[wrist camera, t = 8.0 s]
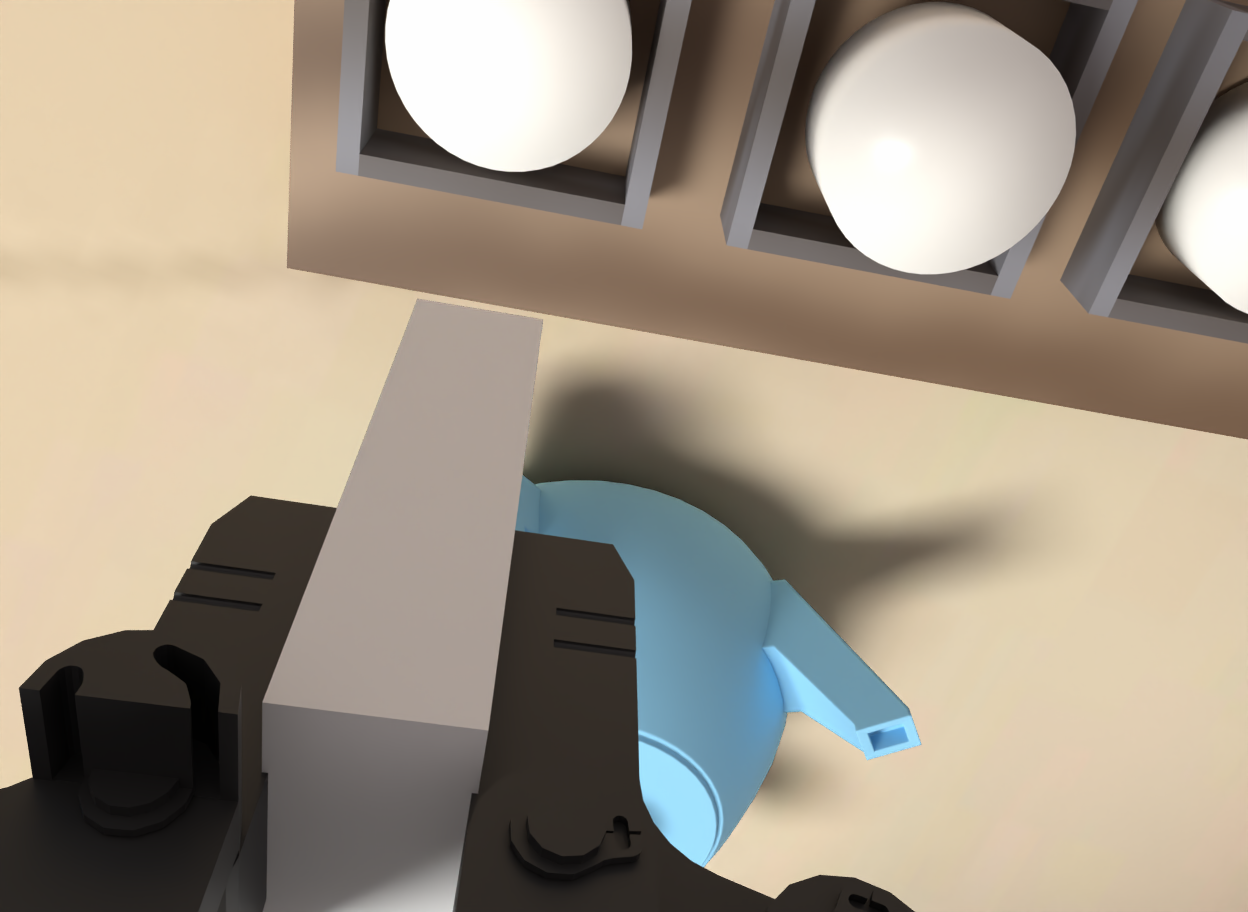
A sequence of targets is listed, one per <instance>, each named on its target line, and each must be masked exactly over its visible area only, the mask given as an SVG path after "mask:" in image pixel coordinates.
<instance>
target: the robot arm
mask: <svg viewBox="0 0 1248 912" xmlns="http://www.w3.org/2000/svg"><path fill="white" fill-rule="evenodd" d="M542 324H543V319H537V318H531V317H525V316H519V315H513V314H507V313H501V312H495V311H489V310H482V309H476V308H470V307H464V306H458V305H452V304H446V303H440V302H434V301H428V300H422V299H417V301H416V304H415V306H414V309H413V312H412V314H411V317H410V320H409V322H408V325H407V327H406V330H405V333H404V335H403V338H402V340H401V343H400V346H399V348H398V351H397V353H396V356H395V359H394V361H393V364H392V366H391V369H390V372H389V374H388V377H387V379H386V382H385V385H384V387H383V390H382V392H381V395H380V398H379V400H378V403H377V405H376V408H375V411H374V413H373V416H372V418H371V421H370V424H369V426H368V429H367V431H366V434H365V437H364V439H363V442H362V444H361V447H360V450H359V452H358V455H357V457H356V460H355V463H354V465H353V468H352V470H351V473H350V476H349V478H348V481H347V483H346V486H345V489H344V491H343V494H342V496H341V499H340V502H339V504H338V507H337V508H333V507H326V506H319V505H312V504H305V503H298V502H291V501H284V500H277V499H270V498H264V497H257V496H250V497H248V498H247V499H246V500H244V501H243V502H241V503H240V504H239V505H237V506H236V507H235V508H233V509H232V510H230V511H229V512H228V513H226V514H225V515H223V516H222V517H221V518H219V519H218V520H217V521H215V522H214V523H212V524H211V526H210V528H209V530H208V531H207V533H206V535H205V537H204V539H203V541H202V542H201V544H200V546H199V548H198V550H197V552H196V553H195V555H194V557H193V559H192V561H191V567H190V569H187V570H186V572H185V574H184V575H183V577H182V579H181V581H180V583H179V585H178V586H177V588H176V590H175V592H174V598H173V600H170V601H169V603H168V605H167V606H166V608H165V610H164V612H163V614H162V616H161V617H160V619H159V621H158V623H157V625H156V627H155V628H154V630H125V631H121V632H117V633H113V634H108V635H104V636H100V637H96V638H92V639H88V640H84V641H82V642H80V643H78V644H76V645H74V646H72V647H70V648H68V649H67V650H65V651H63V652H61V653H59V654H57V655H55V656H53V657H52V658H50V659H48V660H46V661H45V662H44V663H43V664H42V665H41V666H40V667H39V668H38V669H37V670H36V671H35V672H34V673H33V674H32V675H31V676H30V677H29V678H28V679H27V680H26V681H25V682H24V683H23V684H22V685H21V686H20V687H19V692H20V698H21V704H22V711H23V717H24V724H25V730H26V736H27V743H28V749H29V756H30V762H31V769H32V775H33V777H32V778H30V779H27V780H25V781H22V782H20V783H17V784H15V785H12V786H9V787H7V788H2V789H0V912H914V911H913V910H912V909H911V908H909V907H908V906H907V905H905V904H904V903H903V902H902V901H900V900H899V899H898V898H897V897H895V896H894V895H893V894H892V893H890V892H888V891H885V890H883V889H881V888H878V887H876V886H873V885H871V884H869V883H866V882H864V881H861V880H859V879H857V878H852V877H839V876H827V875H818V876H815V877H812V878H809V879H806V880H803V881H799V882H796V883H793V884H790V885H789V886H788V887H787V888H786V889H785V890H784V891H783V892H782V893H781V894H780V895H779V896H778V897H777V898H776V899H773V898H771V897H768V896H766V895H764V894H761V893H759V892H756V891H754V890H752V889H749V888H747V887H745V886H742V885H740V884H738V883H735V882H733V881H730V880H728V879H726V878H723V877H721V876H719V875H717V874H715V873H713V872H711V871H709V870H707V869H705V868H704V867H702V866H700V865H698V864H696V863H694V862H693V861H691V860H690V859H689V858H688V857H686V856H685V855H684V854H683V853H681V852H680V851H679V850H678V849H677V848H675V847H674V846H673V845H672V844H671V843H670V842H669V841H668V840H667V839H666V837H665V836H664V835H663V834H662V832H661V831H660V830H659V828H658V827H657V826H656V825H655V823H654V822H653V820H652V818H651V816H650V814H649V811H648V809H647V807H646V805H645V803H644V801H643V796H642V790H641V784H640V777H639V738H638V699H637V660H636V658H635V655H636V626H635V582H634V579H633V577H632V575H631V574H630V572H629V570H628V569H627V567H626V565H625V563H624V562H623V560H622V558H621V557H620V555H619V553H618V552H617V550H616V548H615V547H614V545H613V544H607V543H600V542H593V541H586V540H579V539H572V538H566V537H559V536H552V535H545V534H538V533H531V532H524V531H517V530H515V527H516V519H517V512H518V504H519V497H520V489H521V482H522V474H523V467H524V459H525V452H526V444H527V437H528V429H529V422H530V414H531V407H532V399H533V392H534V384H535V377H536V369H537V362H538V354H539V347H540V339H541V332H542Z"/></svg>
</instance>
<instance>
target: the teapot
mask: <svg viewBox="0 0 1248 912" xmlns="http://www.w3.org/2000/svg"><path fill="white" fill-rule="evenodd" d="M515 530H517V531H524V532H531V533H538V534H545V535H552V536H559V537H566V538H572V539H579V540H586V541H593V542H600V543H607V544H613V545H614V547H615V548H616V550H617V552H618V553H619V555H620V557H621V558H622V560H623V562H624V563H625V565H626V567H627V569H628V570H629V572H630V574H631V575H632V577H633V579H634V582H635V626H636V655H635V658H636V660H637V699H638V738H639V777H640V784H641V790H642V796H643V801H644V803H645V805H646V807H647V809H648V811H649V814H650V816H651V818H652V820H653V822H654V823H655V825H656V826H657V827H658V828H659V830H660V831H661V832H662V834H663V835H664V836H665V837H666V839H667V840H668V841H669V842H670V843H671V844H672V845H673V846H674V847H675V848H677V849H678V850H679V851H680V852H681V853H683V854H684V855H685V856H686V857H688V858H689V859H690V860H691V861H693V862H694V863H696V864H698V865H700V866H702V867H704V866H705V865H706V864H707V863H708V862H709V861H710V860H711V858H712V857H713V856H714V855H715V854H716V853H717V852H718V850H719V849H720V848H721V847H722V845H723V844H724V843H725V841H726V840H727V839H728V837H729V836H730V834H731V833H732V831H733V830H734V828H735V827H736V825H737V824H738V823H739V821H740V820H741V818H742V817H743V815H744V813H745V812H746V810H747V809H748V807H749V806H750V804H751V803H752V801H753V799H754V798H755V796H756V794H757V792H758V790H759V788H760V786H761V784H762V783H763V781H764V779H765V777H766V775H767V773H768V771H769V769H770V767H771V765H772V763H773V760H774V757H775V754H776V751H777V748H778V745H779V743H780V739H781V736H782V733H783V730H784V727H785V723H786V717H787V712H800V711H801V712H803V713H804V714H806V715H808V716H809V717H811V718H812V719H814V720H815V721H817V722H818V723H820V724H821V725H823V726H824V727H826V728H828V729H829V730H831V731H832V732H834V733H835V734H837V735H838V736H840V737H841V738H843V739H844V740H846V741H848V742H849V743H851V744H852V745H854V746H855V747H857V748H858V749H860V750H861V751H863V752H864V754H865V756H866V759H867V760H869V759H873V758H876V757H880V756H883V755H887V754H890V753H894V752H897V751H901V750H904V749H908V748H911V747H915V746H918V745H921V742H920V739H919V736H918V733H917V730H916V728H915V725H914V722H913V719H912V716H911V713H910V710H909V708H908V707H907V706H906V705H905V704H904V703H903V702H902V701H901V700H900V699H899V698H898V697H897V696H896V694H895V693H894V692H893V691H892V690H891V689H890V688H889V687H888V686H887V685H886V684H885V683H884V682H883V681H882V680H881V679H880V678H879V677H878V676H877V675H876V674H875V673H874V672H873V671H872V669H871V668H870V667H869V666H868V665H867V664H866V663H865V662H864V661H863V660H862V659H861V658H860V657H859V656H858V655H857V654H856V653H855V652H854V651H853V650H852V649H851V648H850V647H849V645H848V644H847V643H846V642H845V641H844V640H843V639H842V638H841V637H840V636H839V635H838V634H837V633H836V632H835V631H834V630H833V629H832V628H831V627H830V626H829V625H828V624H827V623H826V622H825V620H824V619H823V618H822V617H821V616H820V615H819V614H818V613H817V612H816V611H815V610H814V609H813V608H812V607H811V606H810V605H809V604H808V603H807V602H806V601H805V600H804V599H803V598H802V597H801V595H800V594H799V593H798V592H797V591H796V590H795V589H794V588H793V587H792V586H791V585H790V584H789V583H788V582H787V581H786V580H785V579H782V580H774V581H773V579H772V578H771V576H770V575H769V573H768V571H767V570H766V568H765V567H764V565H763V564H762V563H761V562H760V560H759V559H758V558H757V557H756V556H755V555H754V553H753V552H752V551H751V550H750V549H749V548H748V546H747V545H746V544H745V543H744V542H743V541H742V540H741V539H740V538H739V537H738V536H736V535H735V534H734V533H733V532H732V531H731V530H730V529H729V528H727V527H726V526H725V525H724V524H722V523H721V522H719V521H718V520H716V519H715V518H713V517H712V516H710V515H709V514H707V513H706V512H704V511H702V510H700V509H698V508H696V507H694V506H692V505H690V504H688V503H686V502H684V501H682V500H680V499H677V498H675V497H672V496H669V495H666V494H663V493H661V492H658V491H655V490H651V489H647V488H642V487H638V486H634V485H630V484H623V483H615V482H608V481H597V480H566V481H556V482H545V483H538V484H534V483H532V482H531V481H530V480H529V479H527V478H526V477H525V476H524V475H522V482H521V489H520V497H519V504H518V512H517V519H516V527H515Z"/></svg>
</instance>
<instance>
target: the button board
mask: <svg viewBox="0 0 1248 912" xmlns="http://www.w3.org/2000/svg"><path fill="white" fill-rule="evenodd" d="M389 2H390V0H295V5H294V40H293V75H292V110H291V145H290V180H289V215H288V250H287V268H291V269H296V270H302V271H307V272H313V273H319V274H324V275H330V276H335V277H341V278H347V279H352V280H358V281H363V282H369V283H375V284H380V285H386V286H392V287H397V288H403V289H408V290H414V291H420V292H425V293H431V294H436V295H442V296H448V297H453V298H459V299H464V300H470V301H476V302H481V303H487V304H492V305H498V306H504V307H509V308H515V309H520V310H526V311H532V312H537V313H543V314H548V315H554V316H560V317H565V318H571V319H576V320H582V321H588V322H593V323H599V324H604V325H610V326H616V327H621V328H627V329H632V330H638V331H644V332H649V333H655V334H660V335H666V336H672V337H677V338H683V339H688V340H694V341H700V342H705V343H711V344H716V345H722V346H728V347H733V348H739V349H744V350H750V351H756V352H761V353H767V354H773V355H778V356H784V357H789V358H795V359H801V360H806V361H812V362H817V363H823V364H829V365H834V366H840V367H845V368H851V369H857V370H862V371H868V372H873V373H879V374H885V375H890V376H896V377H901V378H907V379H913V380H918V381H924V382H929V383H935V384H941V385H946V386H952V387H957V388H963V389H969V390H974V391H980V392H985V393H991V394H997V395H1002V396H1008V397H1013V398H1019V399H1025V400H1030V401H1036V402H1041V403H1047V404H1053V405H1058V406H1064V407H1069V408H1075V409H1081V410H1086V411H1092V412H1097V413H1103V414H1109V415H1114V416H1120V417H1125V418H1131V419H1137V420H1142V421H1148V422H1154V423H1159V424H1165V425H1170V426H1176V427H1182V428H1187V429H1193V430H1198V431H1204V432H1210V433H1215V434H1221V435H1226V436H1232V437H1238V438H1243V439H1248V314H1247V313H1245V312H1242V311H1240V310H1238V309H1236V308H1234V307H1233V306H1231V305H1229V304H1228V303H1226V302H1225V301H1224V300H1223V299H1222V298H1221V297H1220V296H1218V295H1217V294H1216V293H1215V292H1214V291H1213V290H1212V289H1211V288H1209V287H1208V286H1207V285H1206V284H1205V283H1204V282H1203V281H1201V280H1200V279H1199V278H1198V277H1197V276H1196V275H1195V274H1194V273H1192V272H1191V271H1190V270H1189V269H1188V268H1187V267H1186V266H1185V265H1183V264H1182V263H1181V262H1180V261H1179V260H1178V259H1177V258H1176V257H1175V256H1174V255H1172V254H1171V253H1170V251H1169V250H1168V249H1167V247H1166V246H1165V245H1164V243H1163V241H1162V239H1161V238H1160V236H1159V233H1158V230H1157V227H1156V224H1155V219H1156V217H1157V215H1158V213H1159V211H1160V209H1161V207H1162V205H1163V203H1164V201H1165V199H1166V197H1167V194H1168V192H1169V190H1170V188H1171V186H1172V184H1173V182H1174V180H1175V178H1176V176H1177V174H1178V172H1179V170H1180V168H1181V166H1182V164H1183V162H1184V160H1185V157H1186V155H1187V153H1188V151H1189V149H1190V147H1191V145H1192V143H1193V141H1194V139H1195V137H1196V135H1197V133H1198V131H1199V129H1200V127H1201V125H1202V122H1203V120H1204V118H1205V116H1206V114H1207V112H1208V110H1209V108H1210V106H1211V104H1212V102H1213V101H1214V100H1216V99H1217V98H1219V97H1220V96H1222V95H1223V94H1225V93H1227V92H1228V91H1230V90H1232V89H1234V88H1236V87H1238V86H1240V85H1242V84H1244V83H1246V82H1248V0H629V5H630V13H631V30H632V62H631V69H630V76H629V80H628V84H627V88H626V91H625V94H624V96H623V99H622V101H621V104H620V106H619V108H618V110H617V112H616V113H615V115H614V117H613V119H612V120H611V122H610V123H609V124H608V126H607V127H606V128H605V130H604V131H603V132H602V133H601V134H600V135H599V136H598V137H597V138H596V139H595V140H594V141H593V142H592V143H591V144H590V145H589V146H587V147H586V148H585V149H584V150H582V151H581V152H580V153H578V154H576V155H575V156H573V157H571V158H569V159H568V160H566V161H563V162H561V163H559V164H556V165H554V166H550V167H547V168H543V169H539V170H533V171H525V172H507V171H499V170H492V169H488V168H484V167H480V166H477V165H475V164H472V163H470V162H467V161H464V160H462V159H461V158H459V157H457V156H455V155H453V154H451V153H450V152H448V151H447V150H445V149H444V148H443V147H441V146H440V145H438V144H437V143H436V142H435V141H434V140H433V139H431V138H430V137H429V136H428V135H427V134H426V133H425V132H424V131H423V130H422V129H421V127H420V126H419V125H418V124H417V123H416V122H415V121H414V119H413V118H412V116H411V115H410V113H409V112H408V110H407V109H406V107H405V106H404V104H403V102H402V100H401V98H400V96H399V94H398V92H397V90H396V87H395V85H394V82H393V79H392V77H391V73H390V69H389V65H388V61H387V53H386V45H385V25H386V18H387V10H388V6H389ZM925 2H949V3H956V4H962V5H965V6H968V7H972V8H975V9H977V10H979V11H981V12H983V13H985V14H987V15H989V16H991V17H992V18H993V19H995V20H996V21H998V22H999V23H1001V24H1002V25H1004V26H1005V27H1007V28H1008V29H1010V30H1011V31H1013V32H1014V33H1016V34H1017V35H1018V36H1020V37H1021V38H1023V39H1024V40H1026V41H1027V42H1029V43H1030V44H1032V45H1033V46H1035V47H1036V48H1038V49H1039V50H1040V51H1041V52H1042V53H1043V54H1044V55H1045V56H1046V57H1047V58H1048V59H1049V60H1051V62H1052V63H1053V64H1054V66H1055V67H1056V68H1057V70H1058V71H1059V72H1060V74H1061V76H1062V78H1063V80H1064V82H1065V83H1066V85H1067V87H1068V90H1069V93H1070V96H1071V99H1072V102H1073V108H1074V113H1075V122H1076V138H1075V149H1074V154H1073V158H1072V163H1071V167H1070V169H1069V172H1068V175H1067V178H1066V180H1065V183H1064V185H1063V187H1062V189H1061V191H1060V193H1059V195H1058V197H1057V198H1056V200H1055V201H1054V203H1053V205H1052V206H1051V208H1050V209H1049V211H1048V212H1047V213H1046V214H1045V216H1044V217H1043V218H1042V219H1041V221H1040V222H1039V223H1038V224H1037V225H1036V226H1035V227H1034V228H1033V229H1032V230H1031V231H1030V232H1029V233H1028V234H1027V235H1026V236H1025V237H1024V238H1023V239H1021V240H1020V241H1019V242H1017V243H1016V244H1015V245H1014V246H1012V247H1011V248H1009V249H1008V250H1006V251H1005V252H1003V253H1001V254H1000V255H998V256H996V257H994V258H992V259H990V260H988V261H986V262H984V263H982V264H979V265H976V266H974V267H971V268H968V269H964V270H960V271H956V272H951V273H943V274H915V273H907V272H903V271H899V270H895V269H892V268H889V267H887V266H884V265H882V264H879V263H877V262H876V261H874V260H872V259H871V258H869V257H867V256H866V255H864V254H863V253H862V252H861V251H859V250H858V249H857V248H856V247H854V245H853V244H852V243H851V242H850V241H849V240H848V239H847V238H846V237H845V236H844V234H843V233H842V231H841V230H840V228H839V227H838V225H837V224H836V222H835V220H834V218H833V216H832V214H831V212H830V209H829V207H828V205H827V203H826V201H825V199H824V197H823V194H822V192H821V190H820V188H819V186H818V184H817V182H816V179H815V177H814V175H813V173H812V170H811V167H810V164H809V161H808V156H807V150H806V143H805V126H806V115H807V111H808V106H809V102H810V99H811V96H812V93H813V90H814V87H815V85H816V83H817V81H818V79H819V77H820V75H821V73H822V71H823V69H824V68H825V66H826V65H827V63H828V62H829V60H830V59H831V57H832V56H833V55H834V54H835V52H836V51H837V50H838V49H839V48H840V46H841V45H842V44H843V43H844V42H845V41H846V40H847V39H848V38H850V37H851V36H852V35H853V34H854V33H855V32H856V31H858V30H859V29H860V28H862V27H863V26H864V25H866V24H867V23H869V22H871V21H872V20H874V19H876V18H877V17H879V16H881V15H883V14H885V13H888V12H890V11H893V10H895V9H897V8H901V7H904V6H908V5H912V4H918V3H925Z"/></svg>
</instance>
